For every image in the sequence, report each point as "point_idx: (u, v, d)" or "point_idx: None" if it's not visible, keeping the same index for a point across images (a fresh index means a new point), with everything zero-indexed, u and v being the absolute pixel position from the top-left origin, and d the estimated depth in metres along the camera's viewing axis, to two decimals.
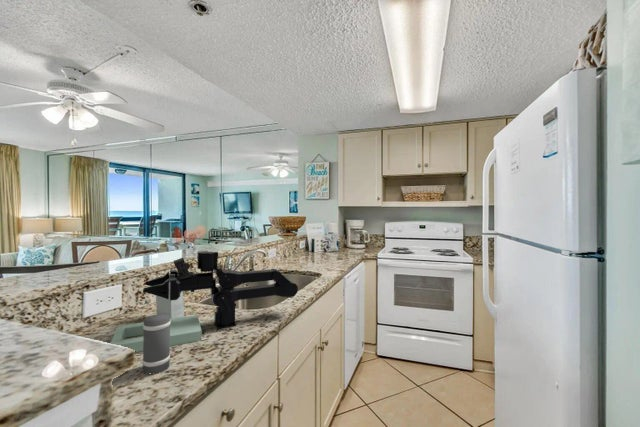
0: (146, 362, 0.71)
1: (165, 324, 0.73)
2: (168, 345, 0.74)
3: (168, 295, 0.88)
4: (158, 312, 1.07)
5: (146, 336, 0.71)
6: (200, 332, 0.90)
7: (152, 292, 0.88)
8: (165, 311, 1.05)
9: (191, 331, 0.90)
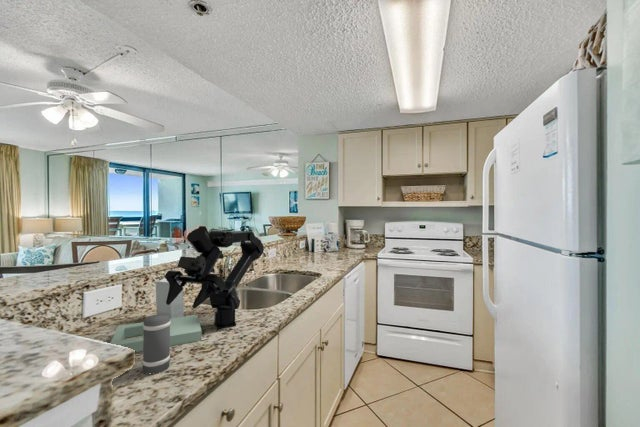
0: (146, 362, 0.71)
1: (165, 324, 0.73)
2: (168, 345, 0.74)
3: (217, 290, 0.85)
4: (158, 312, 1.07)
5: (146, 336, 0.71)
6: (200, 332, 0.90)
7: (201, 301, 0.83)
8: (165, 311, 1.05)
9: (191, 331, 0.90)
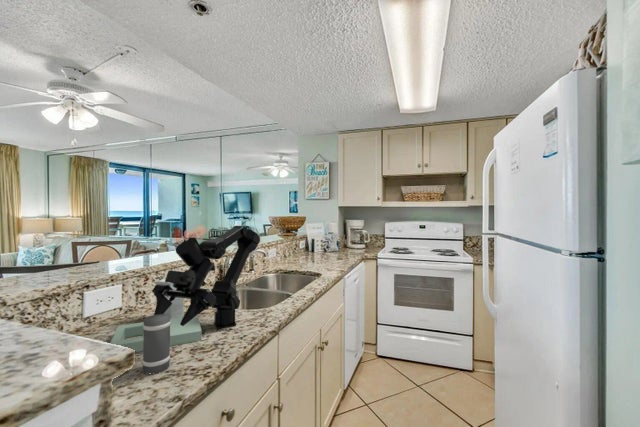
0: (146, 362, 0.71)
1: (165, 324, 0.73)
2: (168, 345, 0.74)
3: (207, 305, 0.81)
4: None
5: (146, 336, 0.71)
6: (200, 332, 0.90)
7: (190, 318, 0.78)
8: None
9: (191, 331, 0.90)
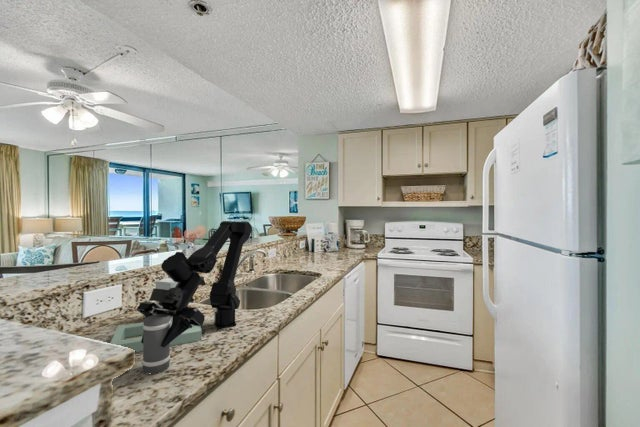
0: (146, 362, 0.71)
1: (165, 324, 0.73)
2: (168, 345, 0.74)
3: (190, 324, 0.77)
4: None
5: (146, 336, 0.71)
6: (200, 332, 0.90)
7: (172, 338, 0.74)
8: None
9: (191, 331, 0.90)
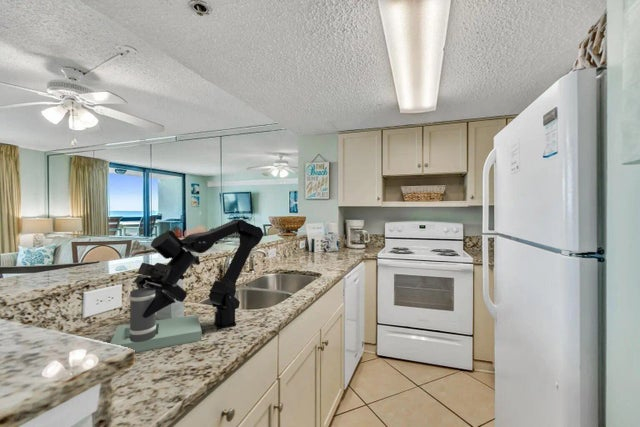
0: (131, 330, 0.76)
1: (147, 296, 0.77)
2: (152, 317, 0.78)
3: (173, 299, 0.79)
4: (158, 312, 1.07)
5: (131, 306, 0.76)
6: (200, 332, 0.90)
7: (154, 311, 0.78)
8: (165, 311, 1.05)
9: (191, 331, 0.90)
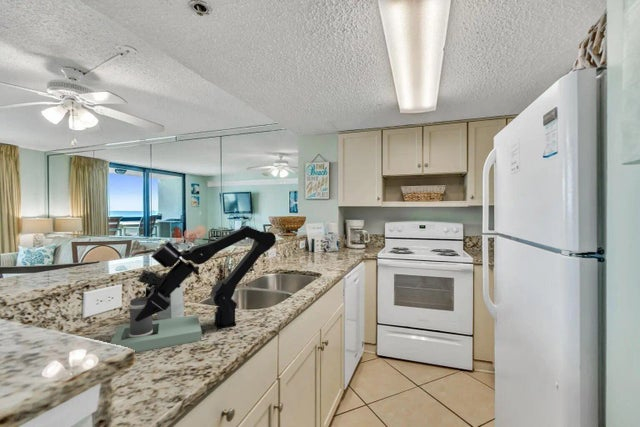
0: (129, 333, 0.88)
1: (140, 305, 0.87)
2: (145, 324, 0.88)
3: (159, 308, 0.85)
4: (158, 312, 1.07)
5: (130, 312, 0.88)
6: (200, 332, 0.90)
7: (145, 316, 0.85)
8: (165, 311, 1.05)
9: (191, 331, 0.90)
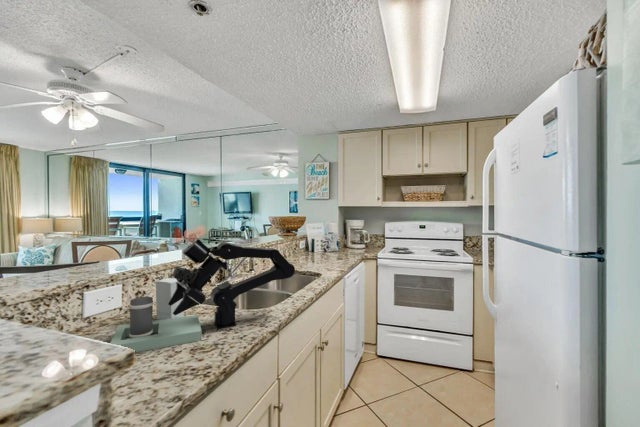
0: (129, 333, 0.88)
1: (140, 306, 0.87)
2: (145, 324, 0.88)
3: (196, 302, 0.91)
4: (158, 312, 1.07)
5: (130, 312, 0.88)
6: (200, 332, 0.90)
7: (182, 310, 0.91)
8: (165, 311, 1.05)
9: (191, 331, 0.90)
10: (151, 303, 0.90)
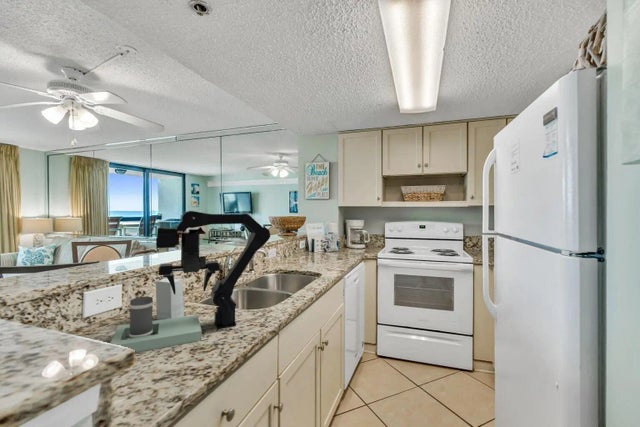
0: (129, 333, 0.88)
1: (140, 306, 0.87)
2: (145, 324, 0.88)
3: None
4: (158, 312, 1.07)
5: (130, 312, 0.88)
6: (200, 332, 0.90)
7: None
8: (165, 311, 1.05)
9: (191, 331, 0.90)
10: (151, 303, 0.90)
